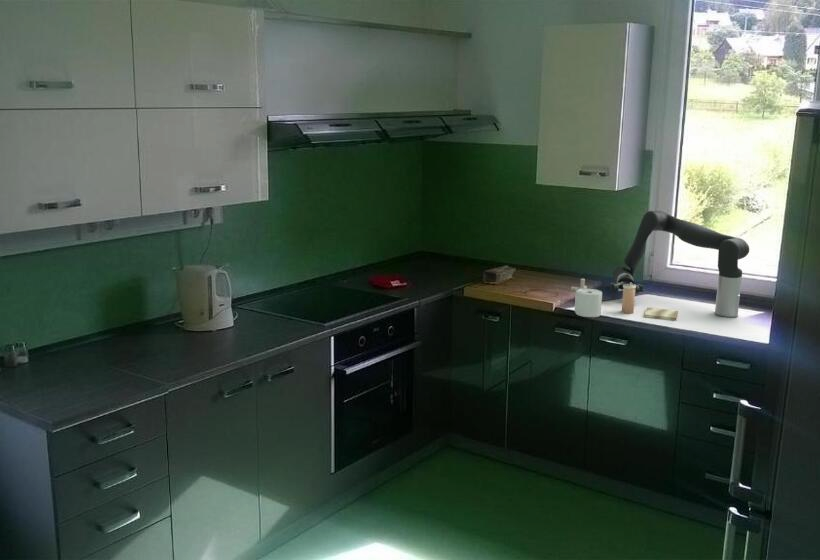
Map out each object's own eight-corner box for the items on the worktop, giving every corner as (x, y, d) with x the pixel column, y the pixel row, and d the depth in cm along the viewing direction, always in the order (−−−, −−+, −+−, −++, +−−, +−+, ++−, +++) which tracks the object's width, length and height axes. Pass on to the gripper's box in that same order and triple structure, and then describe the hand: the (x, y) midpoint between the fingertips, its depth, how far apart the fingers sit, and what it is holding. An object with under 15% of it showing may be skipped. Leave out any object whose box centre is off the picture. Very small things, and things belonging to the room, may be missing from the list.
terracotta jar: (634, 311, 355) (636, 284, 352) (633, 314, 350) (635, 287, 347) (621, 310, 357) (624, 283, 354) (620, 313, 352) (622, 286, 349)
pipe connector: (567, 301, 370) (568, 280, 368) (574, 296, 379) (575, 275, 376) (589, 304, 365) (590, 282, 363) (595, 299, 374) (596, 278, 372)
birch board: (677, 313, 352) (678, 310, 352) (676, 320, 342) (676, 317, 341) (646, 310, 357) (647, 307, 357) (644, 317, 346) (644, 314, 346)
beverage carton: (516, 279, 412) (517, 266, 410) (495, 286, 397) (495, 273, 396) (503, 276, 417) (503, 264, 415) (481, 283, 402) (482, 270, 401)
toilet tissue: (598, 318, 343) (599, 295, 341) (570, 315, 347) (571, 292, 345) (602, 312, 352) (604, 290, 350) (575, 309, 357) (576, 287, 355)
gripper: (610, 273, 378) (611, 281, 362) (641, 275, 375) (644, 283, 359) (609, 289, 379) (610, 298, 364) (640, 291, 377) (643, 300, 361)
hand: (627, 290), depth 362 cm, fingers open, 8 cm apart
